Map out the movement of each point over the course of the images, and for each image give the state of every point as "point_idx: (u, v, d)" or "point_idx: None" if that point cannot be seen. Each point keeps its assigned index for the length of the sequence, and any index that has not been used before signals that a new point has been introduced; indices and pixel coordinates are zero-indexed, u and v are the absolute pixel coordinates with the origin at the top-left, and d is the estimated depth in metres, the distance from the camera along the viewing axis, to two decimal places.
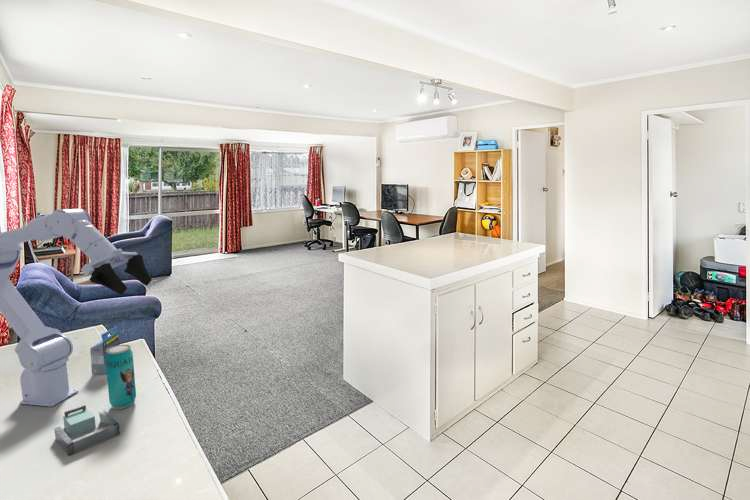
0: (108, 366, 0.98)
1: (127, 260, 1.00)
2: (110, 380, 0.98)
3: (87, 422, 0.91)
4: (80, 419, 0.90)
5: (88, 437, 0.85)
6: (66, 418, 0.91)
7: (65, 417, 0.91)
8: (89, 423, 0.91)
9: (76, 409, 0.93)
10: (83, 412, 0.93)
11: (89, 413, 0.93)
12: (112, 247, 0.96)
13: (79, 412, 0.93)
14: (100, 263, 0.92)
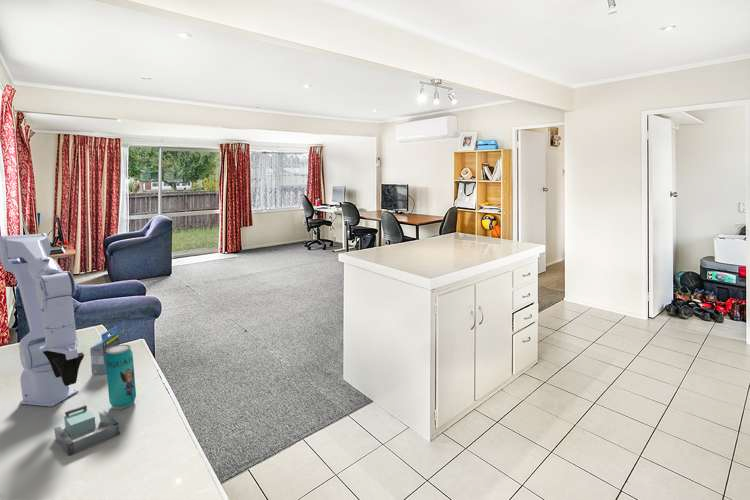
0: (108, 366, 0.98)
1: None
2: (110, 380, 0.98)
3: (87, 422, 0.90)
4: (80, 420, 0.90)
5: (88, 437, 0.85)
6: (67, 418, 0.91)
7: (66, 417, 0.91)
8: (89, 424, 0.91)
9: (77, 409, 0.93)
10: (84, 412, 0.93)
11: (89, 413, 0.93)
12: (46, 340, 0.91)
13: (80, 412, 0.93)
14: None
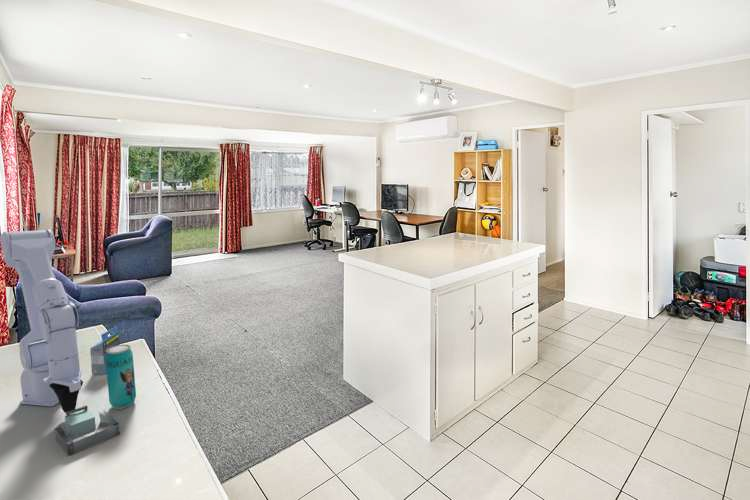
0: (108, 366, 0.98)
1: None
2: (110, 380, 0.98)
3: (87, 422, 0.90)
4: (80, 420, 0.90)
5: (88, 437, 0.85)
6: (67, 418, 0.91)
7: (66, 417, 0.91)
8: (89, 424, 0.91)
9: (78, 409, 0.93)
10: (84, 412, 0.93)
11: (90, 413, 0.93)
12: (50, 372, 0.92)
13: (80, 412, 0.93)
14: None
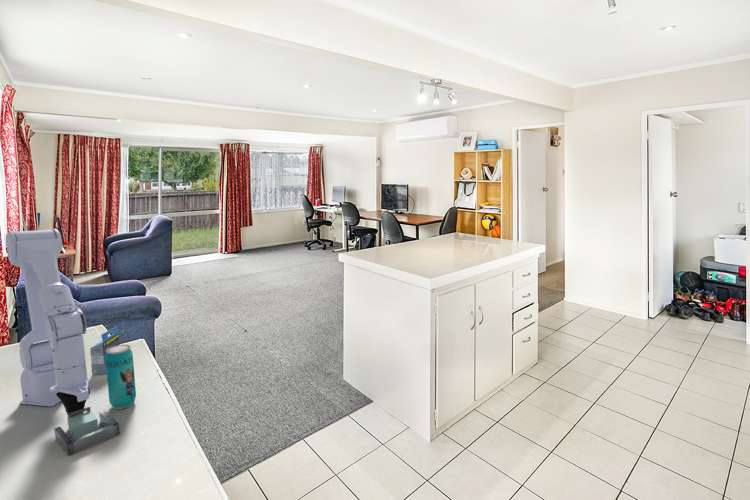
0: (108, 366, 0.98)
1: None
2: (110, 380, 0.98)
3: (89, 424, 0.89)
4: (83, 421, 0.89)
5: (88, 437, 0.85)
6: (70, 419, 0.90)
7: (69, 418, 0.90)
8: (92, 426, 0.90)
9: (80, 410, 0.92)
10: (87, 414, 0.92)
11: (92, 415, 0.92)
12: (56, 381, 0.89)
13: (83, 414, 0.92)
14: None
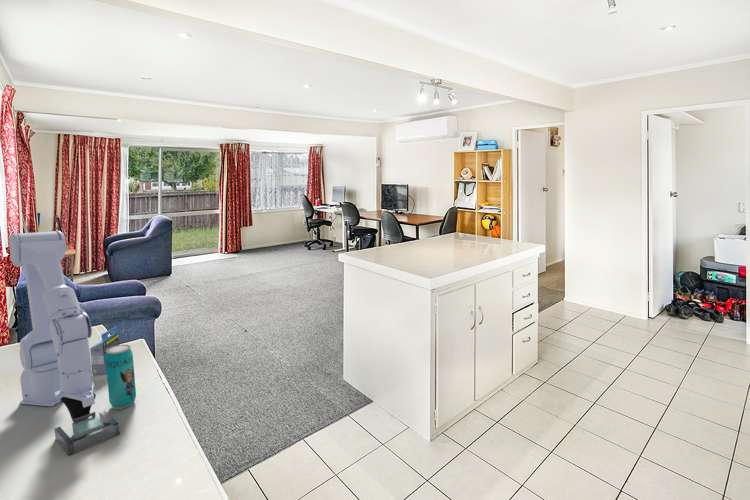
0: (108, 366, 0.98)
1: None
2: (110, 380, 0.98)
3: (95, 429, 0.87)
4: (89, 427, 0.87)
5: (88, 437, 0.85)
6: (75, 425, 0.88)
7: (74, 424, 0.88)
8: None
9: (85, 416, 0.90)
10: (92, 419, 0.90)
11: (98, 420, 0.90)
12: (61, 386, 0.87)
13: (88, 419, 0.90)
14: None
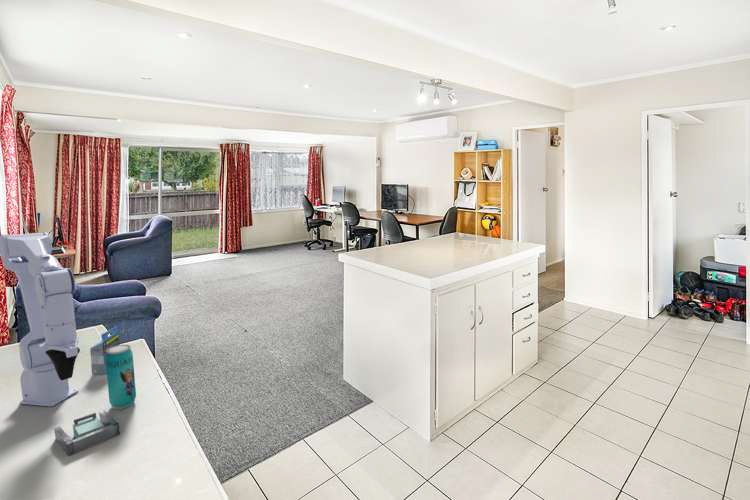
0: (108, 366, 0.98)
1: None
2: (110, 380, 0.98)
3: None
4: (89, 428, 0.87)
5: (88, 437, 0.85)
6: (75, 426, 0.88)
7: (74, 425, 0.88)
8: None
9: (86, 417, 0.90)
10: (93, 420, 0.90)
11: (99, 421, 0.89)
12: (46, 338, 0.90)
13: (89, 420, 0.90)
14: None
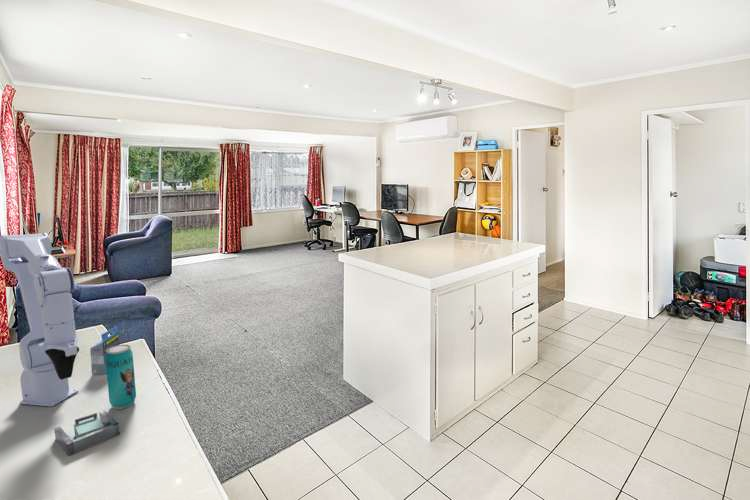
0: (108, 366, 0.98)
1: None
2: (110, 380, 0.98)
3: None
4: (89, 428, 0.87)
5: (88, 437, 0.85)
6: (76, 426, 0.88)
7: (75, 425, 0.88)
8: None
9: (87, 417, 0.90)
10: (93, 420, 0.90)
11: (99, 422, 0.89)
12: (45, 337, 0.90)
13: (90, 420, 0.90)
14: None
